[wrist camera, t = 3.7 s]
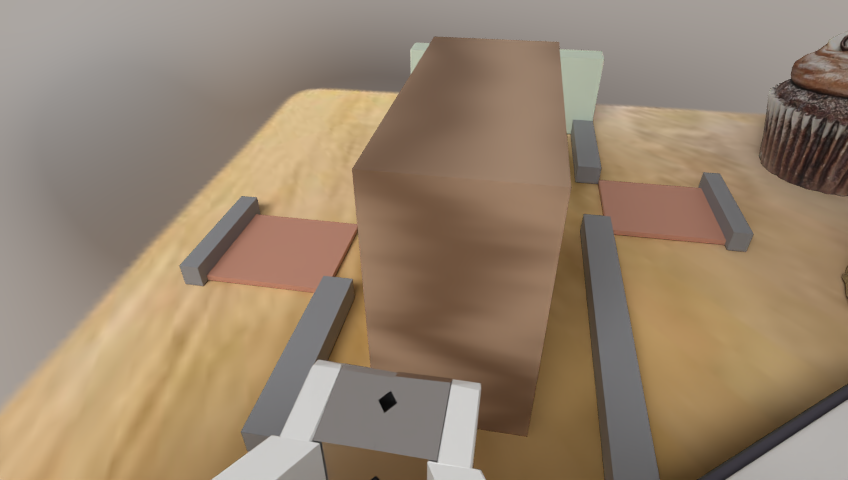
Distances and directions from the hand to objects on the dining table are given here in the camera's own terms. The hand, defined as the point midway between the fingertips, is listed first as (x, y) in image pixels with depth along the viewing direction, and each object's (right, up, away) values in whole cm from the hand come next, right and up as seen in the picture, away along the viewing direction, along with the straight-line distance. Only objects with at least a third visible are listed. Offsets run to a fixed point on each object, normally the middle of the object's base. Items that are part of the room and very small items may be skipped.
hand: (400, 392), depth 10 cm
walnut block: (+3, -1, +17) cm, 17 cm away
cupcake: (+29, +8, +28) cm, 41 cm away
